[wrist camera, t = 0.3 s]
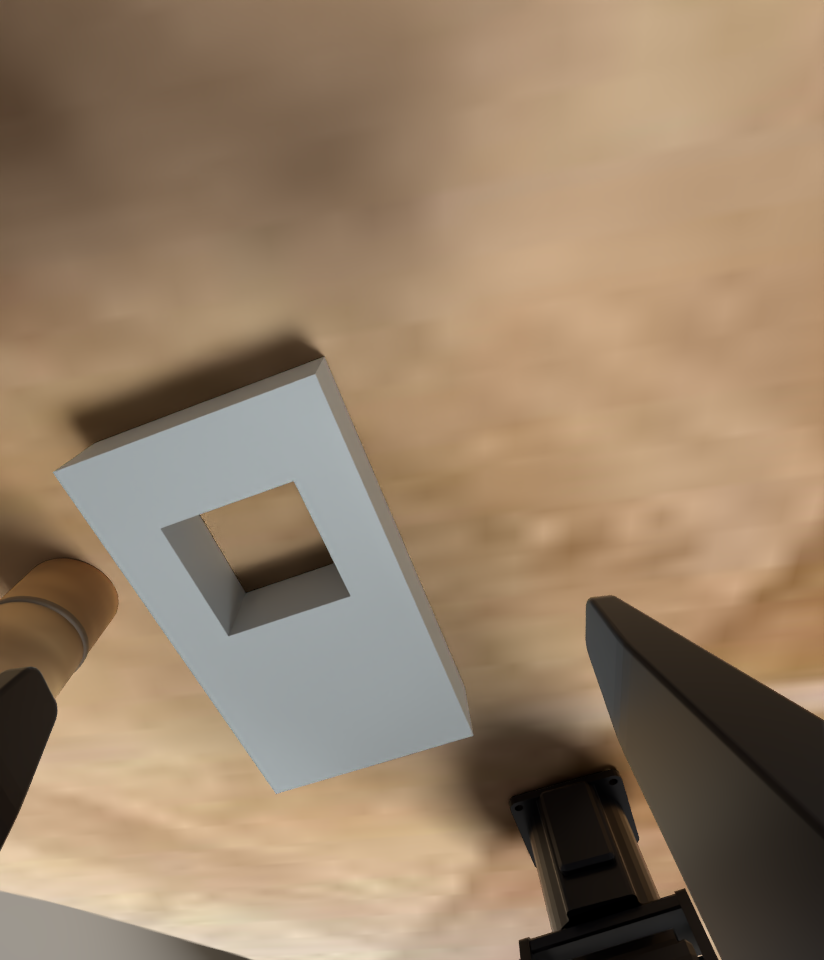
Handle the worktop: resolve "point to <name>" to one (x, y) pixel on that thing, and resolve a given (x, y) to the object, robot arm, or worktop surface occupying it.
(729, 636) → the worktop surface
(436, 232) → the worktop surface
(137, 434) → the board
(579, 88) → the worktop surface
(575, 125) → the worktop surface
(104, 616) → the peg
